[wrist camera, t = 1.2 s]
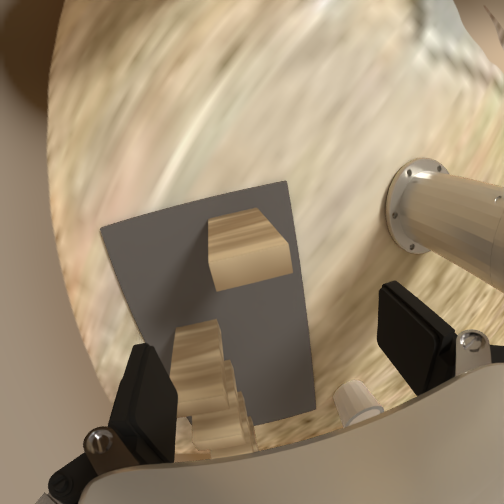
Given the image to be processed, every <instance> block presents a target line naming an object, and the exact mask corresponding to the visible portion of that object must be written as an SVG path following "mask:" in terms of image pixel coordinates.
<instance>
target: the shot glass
mask: <svg viewBox="0 0 504 504" xmlns="http://www.w3.org/2000/svg"><path fill="white" fill-rule="evenodd" d="M333 399H334V402H335V405H336V408H337V411H338V413H339V416H340V419H341V422H342V425H343V428H344V427H347V426H350V425H353V424H355V423H358V422H361V421H363V420H366V419H368V418H371V417H373V416H376V415H378V414H380V413H383V412H384V409H383V407H382V406H381V404H380V403H379V402H378V401H377V399H376V398H375V397H374V396H373V395H372V393H371V392H370V391H369V390H368V388H367V387H366V386H365V385H364V384H363V382H361V381H360V380H352V381H348V382H346V383H344V384H342V385H341V386H340V387H339V388H338V389H337V390H336V391H335V393H334V395H333Z"/></svg>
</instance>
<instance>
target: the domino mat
mask: <svg viewBox="0 0 504 504" xmlns="http://www.w3.org/2000/svg"><path fill="white" fill-rule="evenodd" d="M252 208H258V209H259V210H260V212H261V213H262V214H263V215H264V216H265V217H266V218H267V219H268V221H269V222H270V223H271V224H272V225H273V226H274V228H275V229H276V230H277V231H278V232H279V233H280V234H281V236H282V237H283V238H284V239H285V240H286V241H287V243H288V244H289V250H290V256H291V262H292V269H293V273H290V274H286V275H283V276H279V277H275V278H271V279H267V280H263V281H259V282H255V283H251V284H247V285H242V286H238V287H234V288H230V289H226V290H222V291H217V292H216V288H215V285H214V281H213V278H212V274H211V270H210V267H209V263H208V219H210V218H214V217H218V216H222V215H226V214H231V213H235V212H239V211H244V210H248V209H252ZM100 230H101V233H102V236H103V239H104V242H105V245H106V248H107V251H108V254H109V257H110V260H111V262H112V265H113V268H114V270H115V273H116V276H117V278H118V281H119V283H120V286H121V288H122V291H123V293H124V296H125V298H126V300H127V303H128V305H129V307H130V310H131V312H132V314H133V317H134V319H135V321H136V323H137V325H138V328H139V330H140V332H141V334H142V336H143V338H144V340H145V342H146V343H148V344H149V345H150V346H154V348H155V350H156V352H157V354H158V356H159V358H160V360H161V362H162V364H163V366H164V368H165V370H166V372H167V373H168V375H169V377H170V369H171V361H172V353H173V345H174V338H175V331H176V328H177V327H182V326H187V325H191V324H196V323H200V322H205V321H210V320H214V319H217V321H218V324H219V327H220V330H221V336H222V346H223V356H224V361H225V360H230V361H231V363H232V366H233V369H234V375H235V382H236V388H237V392H240V391H241V392H242V395H243V397H244V401H245V406H246V412H247V417H249V416H251V419H252V422H253V425H254V426H256V425H260V424H265V423H269V422H273V421H277V420H281V419H285V418H288V417H292V416H295V415H299V414H302V413H306V412H309V411H312V410H315V409H316V400H315V389H314V378H313V367H312V357H311V348H310V338H309V329H308V321H307V313H306V305H305V297H304V289H303V282H302V274H301V267H300V260H299V253H298V247H297V240H296V234H295V227H294V221H293V215H292V209H291V203H290V197H289V191H288V185H287V181H281V182H276V183H272V184H267V185H262V186H257V187H253V188H248V189H243V190H239V191H234V192H230V193H226V194H222V195H217V196H213V197H209V198H205V199H201V200H197V201H193V202H189V203H185V204H181V205H177V206H173V207H170V208H166V209H162V210H159V211H155V212H151V213H148V214H144V215H141V216H137V217H134V218H130V219H127V220H124V221H120V222H117V223H114V224H111V225H107V226H104V227H101V228H100ZM186 417H187V418H188V420H189V422H190V423H191V425H192V416H186Z"/></svg>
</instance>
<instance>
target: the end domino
mask: <svg viewBox="0 0 504 504" xmlns="http://www.w3.org/2000/svg"><path fill="white" fill-rule="evenodd" d="M208 263H209V267H210V270H211V274H212V278H213V281H214V285H215V288H216V292H217V291H222V290H226V289H230V288H234V287H238V286H242V285H247V284H251V283H255V282H259V281H263V280H267V279H271V278H275V277H279V276H283V275H286V274H290V273H293V269H292V262H291V256H290V250H289V244H288V243H287V241H286V240H285V239H284V238H283V237H282V236H281V234H280V233H279V232H278V231H277V230H276V229H275V228H274V226H273V225H272V224H271V223H270V222H269V221H268V219H267V218H266V217H265V216H264V215H263V214H262V213H261V212H260V210H259V209H258V208H252V209H248V210H244V211H239V212H235V213H231V214H226V215H222V216H218V217H214V218H210V219H208Z"/></svg>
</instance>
